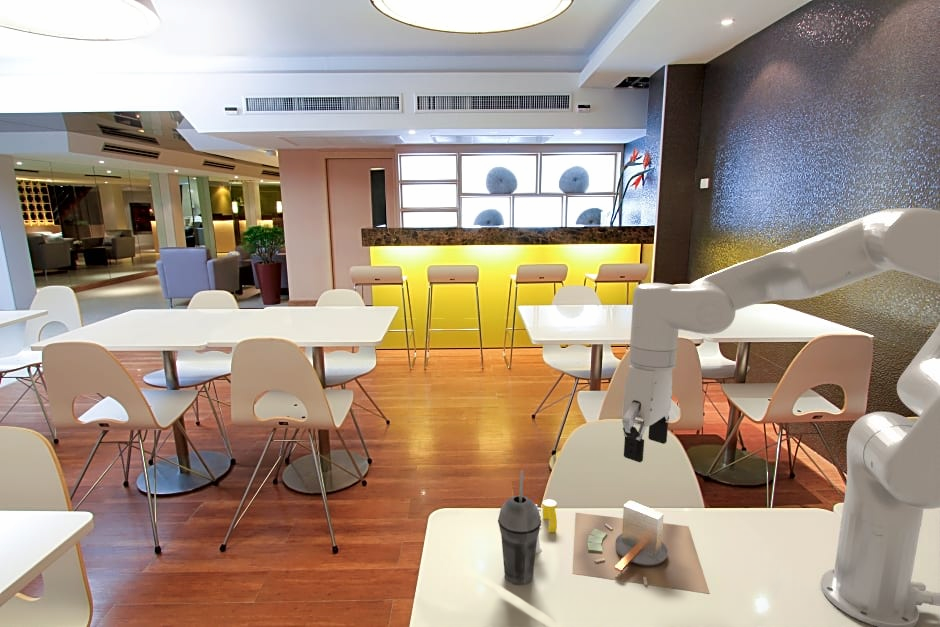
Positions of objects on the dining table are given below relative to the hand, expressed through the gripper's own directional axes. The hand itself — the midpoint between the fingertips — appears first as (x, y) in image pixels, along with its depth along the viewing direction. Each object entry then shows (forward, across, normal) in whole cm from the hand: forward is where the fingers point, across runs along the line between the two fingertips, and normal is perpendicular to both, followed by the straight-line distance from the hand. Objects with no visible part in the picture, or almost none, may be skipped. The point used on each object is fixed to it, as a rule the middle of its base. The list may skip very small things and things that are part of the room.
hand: (645, 450), depth 90 cm
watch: (+22, +4, -17) cm, 28 cm away
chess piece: (+22, +12, -14) cm, 29 cm away
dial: (+20, +2, 0) cm, 20 cm away
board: (+21, 0, -1) cm, 21 cm away
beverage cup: (+22, +20, -12) cm, 32 cm away
